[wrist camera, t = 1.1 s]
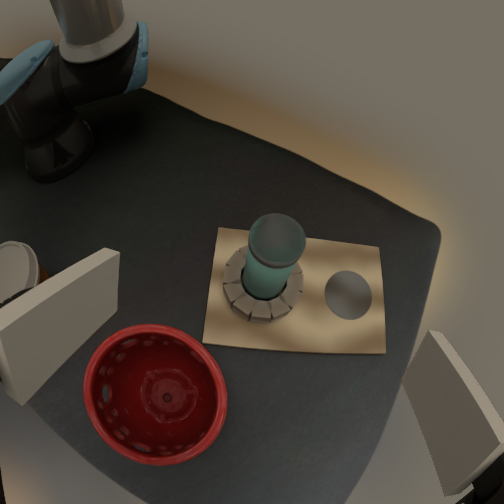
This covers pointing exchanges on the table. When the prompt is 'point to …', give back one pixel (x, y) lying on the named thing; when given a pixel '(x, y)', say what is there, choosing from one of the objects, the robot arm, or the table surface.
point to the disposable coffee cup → (18, 269)
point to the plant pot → (155, 394)
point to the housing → (299, 301)
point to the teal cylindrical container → (271, 255)
